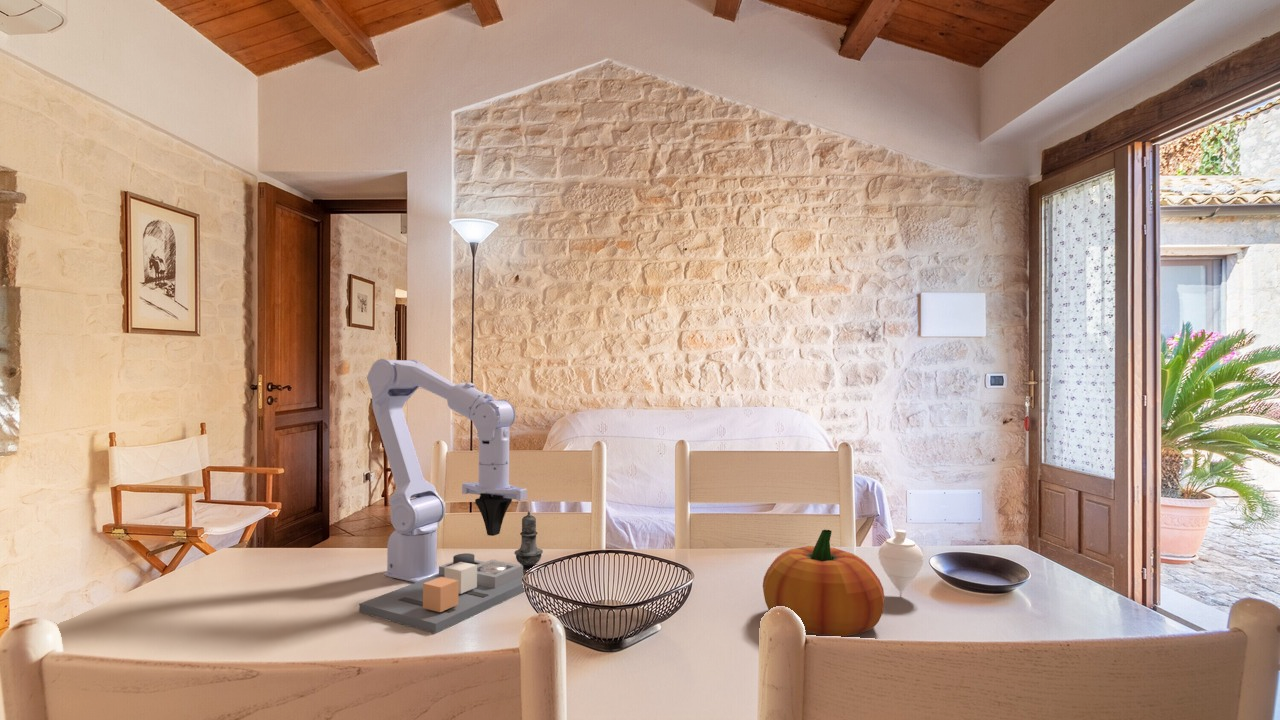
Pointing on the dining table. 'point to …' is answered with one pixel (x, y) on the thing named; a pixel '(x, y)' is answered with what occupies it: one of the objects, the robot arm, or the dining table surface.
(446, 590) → the lever near
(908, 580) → the spinning top
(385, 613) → the panel
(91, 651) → the dining table surface
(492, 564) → the button silver
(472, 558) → the button black
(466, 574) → the lever middle
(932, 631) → the dining table surface
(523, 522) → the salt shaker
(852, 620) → the pumpkin
